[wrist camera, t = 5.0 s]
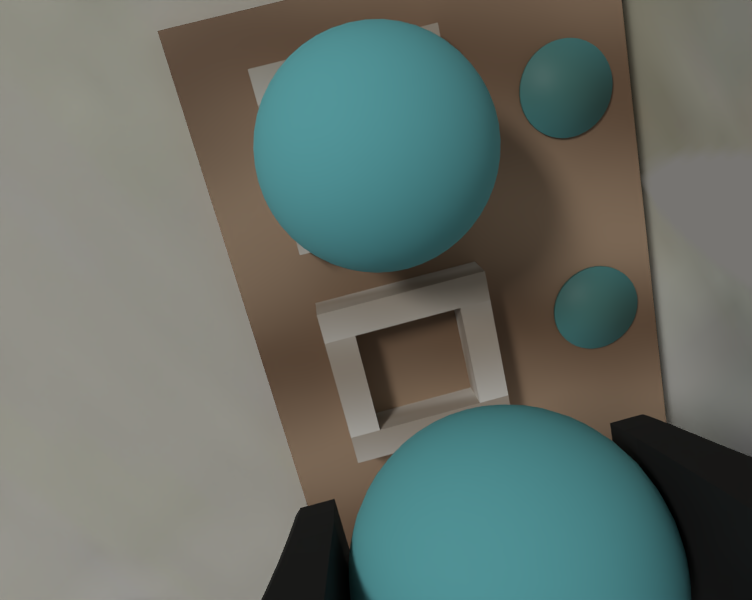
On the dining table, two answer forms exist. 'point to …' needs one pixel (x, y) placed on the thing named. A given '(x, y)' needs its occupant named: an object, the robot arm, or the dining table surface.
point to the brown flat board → (461, 261)
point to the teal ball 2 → (514, 516)
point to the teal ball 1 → (376, 145)
